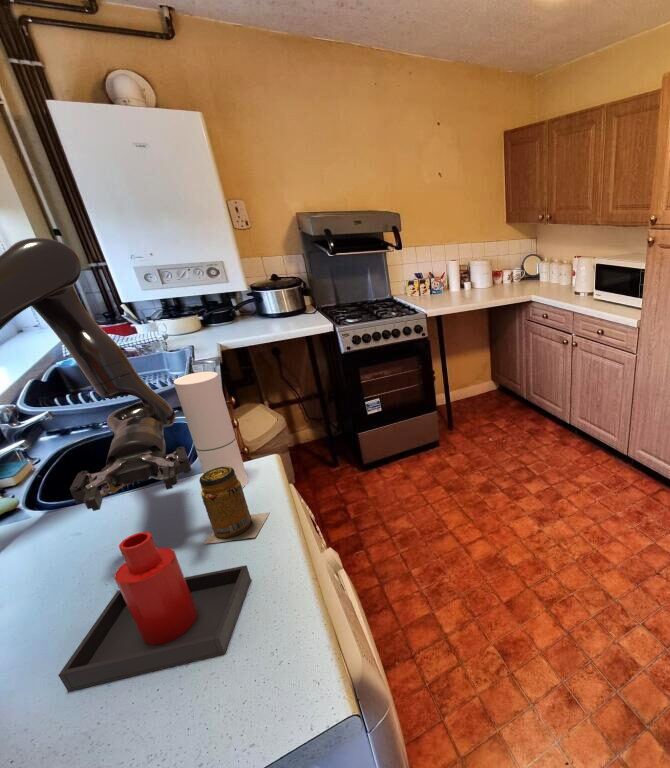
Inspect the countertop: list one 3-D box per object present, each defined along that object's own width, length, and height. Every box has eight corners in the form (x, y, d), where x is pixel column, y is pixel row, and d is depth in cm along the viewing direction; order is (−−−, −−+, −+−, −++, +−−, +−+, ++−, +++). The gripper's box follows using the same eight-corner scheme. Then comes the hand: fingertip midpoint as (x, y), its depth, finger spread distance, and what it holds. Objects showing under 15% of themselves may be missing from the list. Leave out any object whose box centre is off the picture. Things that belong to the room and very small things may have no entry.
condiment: (222, 518, 84) (205, 464, 80) (269, 513, 85) (255, 460, 81) (204, 545, 77) (184, 488, 73) (255, 538, 78) (238, 482, 74)
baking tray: (67, 692, 54) (57, 675, 52) (124, 605, 65) (117, 590, 64) (224, 654, 58) (218, 638, 57) (251, 579, 70) (246, 564, 68)
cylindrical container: (242, 473, 99) (212, 369, 90) (252, 485, 94) (221, 377, 85) (206, 486, 94) (170, 378, 85) (214, 500, 89) (177, 387, 80)
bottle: (134, 650, 58) (92, 562, 52) (155, 612, 64) (119, 529, 58) (187, 638, 59) (152, 551, 54) (204, 602, 65) (173, 520, 60)
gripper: (75, 444, 71) (56, 490, 59) (181, 420, 79) (183, 456, 67) (91, 483, 74) (76, 534, 62) (192, 456, 82) (197, 497, 70)
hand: (132, 494), depth 64 cm, fingers open, 8 cm apart
